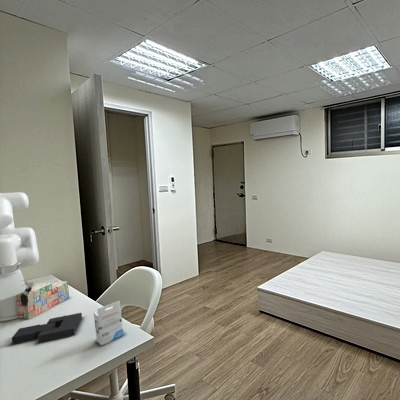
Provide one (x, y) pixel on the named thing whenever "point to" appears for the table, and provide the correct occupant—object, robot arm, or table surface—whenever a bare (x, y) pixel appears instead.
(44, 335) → the socket pad
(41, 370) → the table surface
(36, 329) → the pad
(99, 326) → the ink box
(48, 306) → the stack of blocks
